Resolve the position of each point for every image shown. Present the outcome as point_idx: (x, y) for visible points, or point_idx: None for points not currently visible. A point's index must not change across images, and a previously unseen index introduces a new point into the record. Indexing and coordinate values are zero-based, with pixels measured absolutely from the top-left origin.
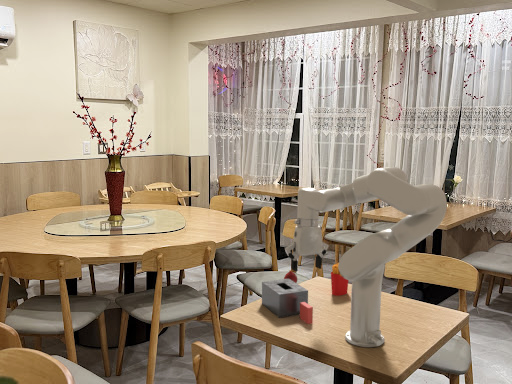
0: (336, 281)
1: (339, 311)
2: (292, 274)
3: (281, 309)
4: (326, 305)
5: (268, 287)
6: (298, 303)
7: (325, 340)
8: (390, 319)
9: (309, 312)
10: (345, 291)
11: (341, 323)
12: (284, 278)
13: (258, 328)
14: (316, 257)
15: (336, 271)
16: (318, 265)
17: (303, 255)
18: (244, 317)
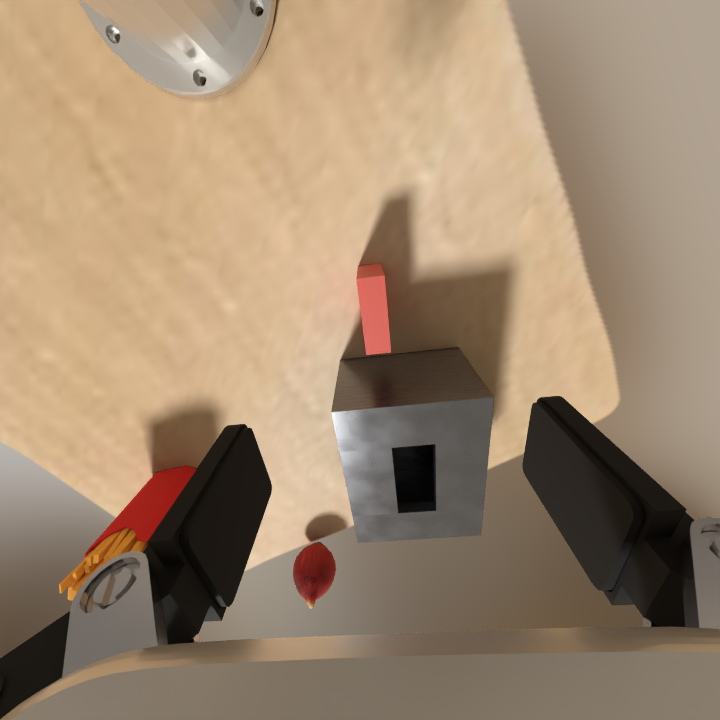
0: (165, 511)
1: (216, 347)
2: (308, 585)
3: (457, 362)
4: (249, 406)
5: (483, 487)
6: (381, 377)
7: (380, 34)
8: (11, 212)
9: (374, 272)
10: (154, 479)
11: (240, 229)
12: (334, 575)
13: (584, 272)
14: (223, 589)
15: None
16: (244, 462)
17: (657, 629)
18: (569, 381)
